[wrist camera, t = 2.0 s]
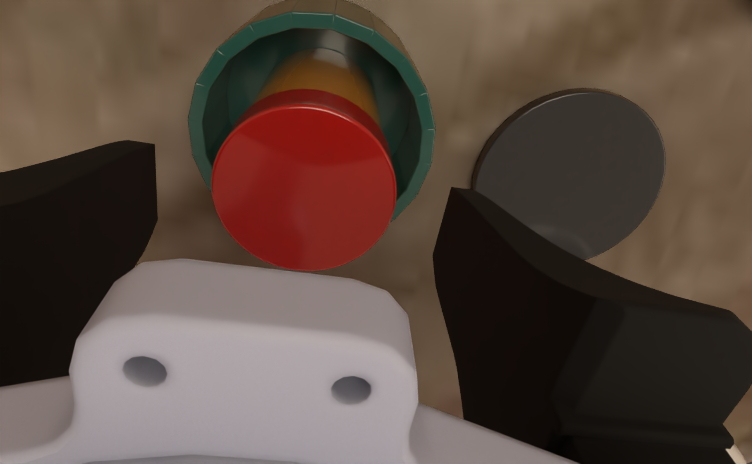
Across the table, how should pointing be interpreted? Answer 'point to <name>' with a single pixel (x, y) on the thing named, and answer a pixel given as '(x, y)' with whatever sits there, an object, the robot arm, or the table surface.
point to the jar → (307, 166)
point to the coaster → (575, 168)
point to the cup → (329, 31)
